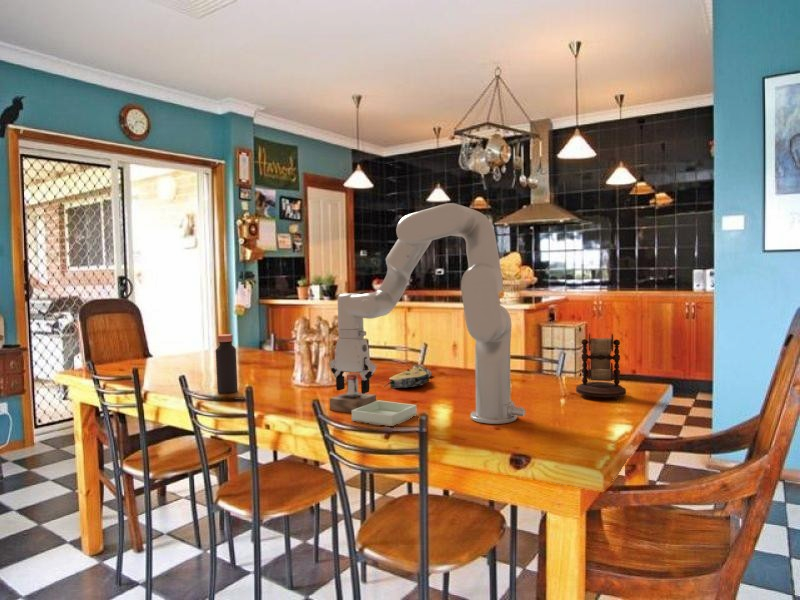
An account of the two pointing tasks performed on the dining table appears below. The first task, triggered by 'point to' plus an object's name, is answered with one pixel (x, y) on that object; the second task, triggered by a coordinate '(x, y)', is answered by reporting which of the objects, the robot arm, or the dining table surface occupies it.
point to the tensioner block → (350, 402)
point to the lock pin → (352, 386)
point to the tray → (384, 413)
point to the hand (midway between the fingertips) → (352, 391)
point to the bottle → (226, 365)
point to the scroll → (600, 369)
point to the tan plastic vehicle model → (410, 377)
